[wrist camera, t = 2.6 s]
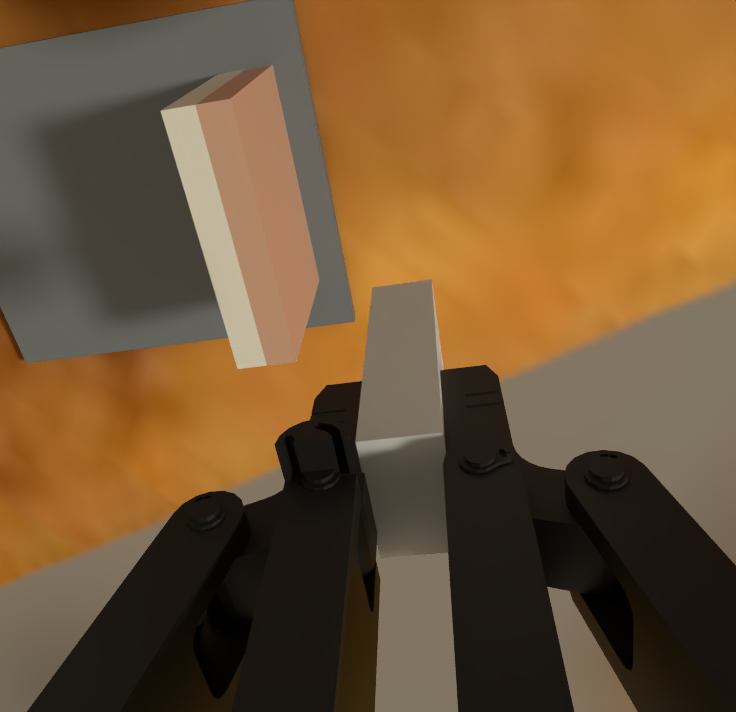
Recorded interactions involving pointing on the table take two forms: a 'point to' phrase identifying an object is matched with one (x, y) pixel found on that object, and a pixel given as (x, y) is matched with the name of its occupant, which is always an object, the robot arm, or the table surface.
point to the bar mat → (136, 181)
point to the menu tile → (247, 211)
